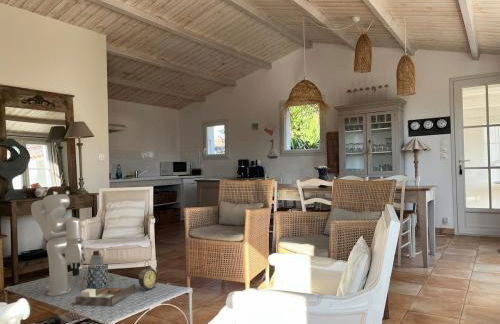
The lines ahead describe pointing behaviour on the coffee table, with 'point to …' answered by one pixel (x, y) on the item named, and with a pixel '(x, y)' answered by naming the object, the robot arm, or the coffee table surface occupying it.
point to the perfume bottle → (96, 259)
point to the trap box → (106, 296)
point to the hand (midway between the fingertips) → (75, 275)
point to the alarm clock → (147, 278)
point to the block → (88, 293)
